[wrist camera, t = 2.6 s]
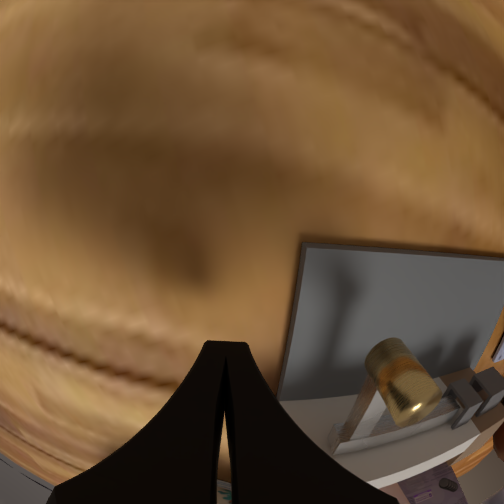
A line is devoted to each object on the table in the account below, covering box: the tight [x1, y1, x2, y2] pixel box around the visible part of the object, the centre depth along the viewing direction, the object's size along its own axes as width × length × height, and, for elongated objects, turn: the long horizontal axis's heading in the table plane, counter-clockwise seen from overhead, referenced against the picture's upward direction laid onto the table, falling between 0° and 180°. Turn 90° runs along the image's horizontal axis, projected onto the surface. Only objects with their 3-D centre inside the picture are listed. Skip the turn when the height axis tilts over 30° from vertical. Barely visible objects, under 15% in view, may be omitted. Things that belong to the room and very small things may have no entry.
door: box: [276, 242, 504, 489], centre depth 11 cm, size 17×13×7 cm
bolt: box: [327, 337, 460, 455], centre depth 9 cm, size 8×6×3 cm
